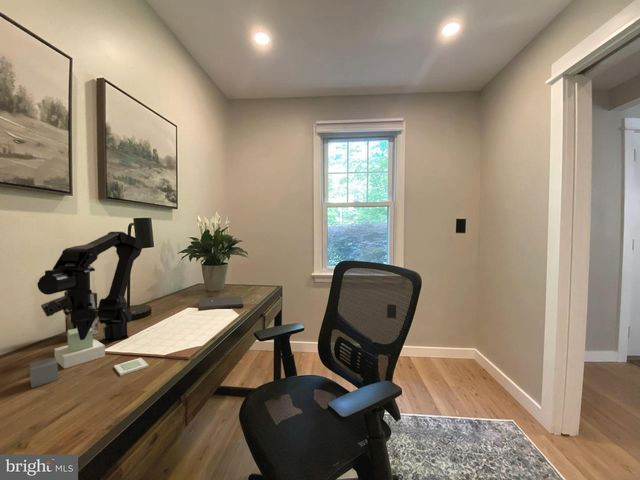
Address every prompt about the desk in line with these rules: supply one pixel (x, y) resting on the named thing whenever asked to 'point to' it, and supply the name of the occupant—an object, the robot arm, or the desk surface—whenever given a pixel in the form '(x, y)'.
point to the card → (130, 366)
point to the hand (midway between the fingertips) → (79, 335)
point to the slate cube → (43, 372)
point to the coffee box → (95, 323)
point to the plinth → (79, 354)
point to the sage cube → (75, 341)
